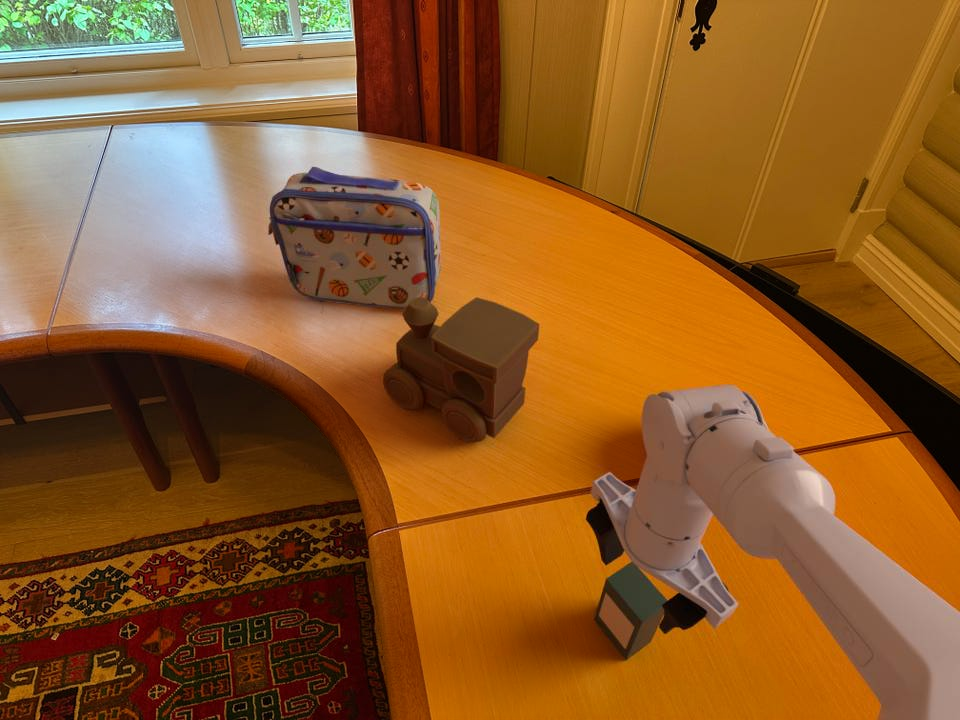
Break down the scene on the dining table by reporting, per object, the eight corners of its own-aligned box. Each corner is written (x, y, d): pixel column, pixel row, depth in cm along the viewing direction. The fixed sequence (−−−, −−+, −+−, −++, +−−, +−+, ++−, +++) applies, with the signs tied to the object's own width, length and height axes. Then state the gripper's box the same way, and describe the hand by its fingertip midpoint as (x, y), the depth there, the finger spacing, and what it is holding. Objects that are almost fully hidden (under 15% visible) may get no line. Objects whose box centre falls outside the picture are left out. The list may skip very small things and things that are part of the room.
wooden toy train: (536, 409, 86) (544, 318, 75) (491, 462, 79) (493, 371, 68) (426, 354, 94) (418, 265, 83) (376, 398, 87) (361, 308, 76)
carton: (632, 560, 59) (605, 579, 58) (670, 602, 56) (641, 623, 55) (618, 602, 66) (593, 619, 64) (651, 641, 62) (625, 661, 61)
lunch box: (278, 304, 104) (244, 185, 88) (300, 270, 111) (272, 154, 96) (436, 319, 101) (428, 199, 86) (447, 283, 108) (442, 166, 93)
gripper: (785, 554, 44) (731, 633, 53) (643, 425, 53) (618, 512, 62) (718, 606, 41) (673, 679, 50) (580, 460, 50) (564, 546, 59)
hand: (639, 590), depth 56 cm, fingers open, 7 cm apart
